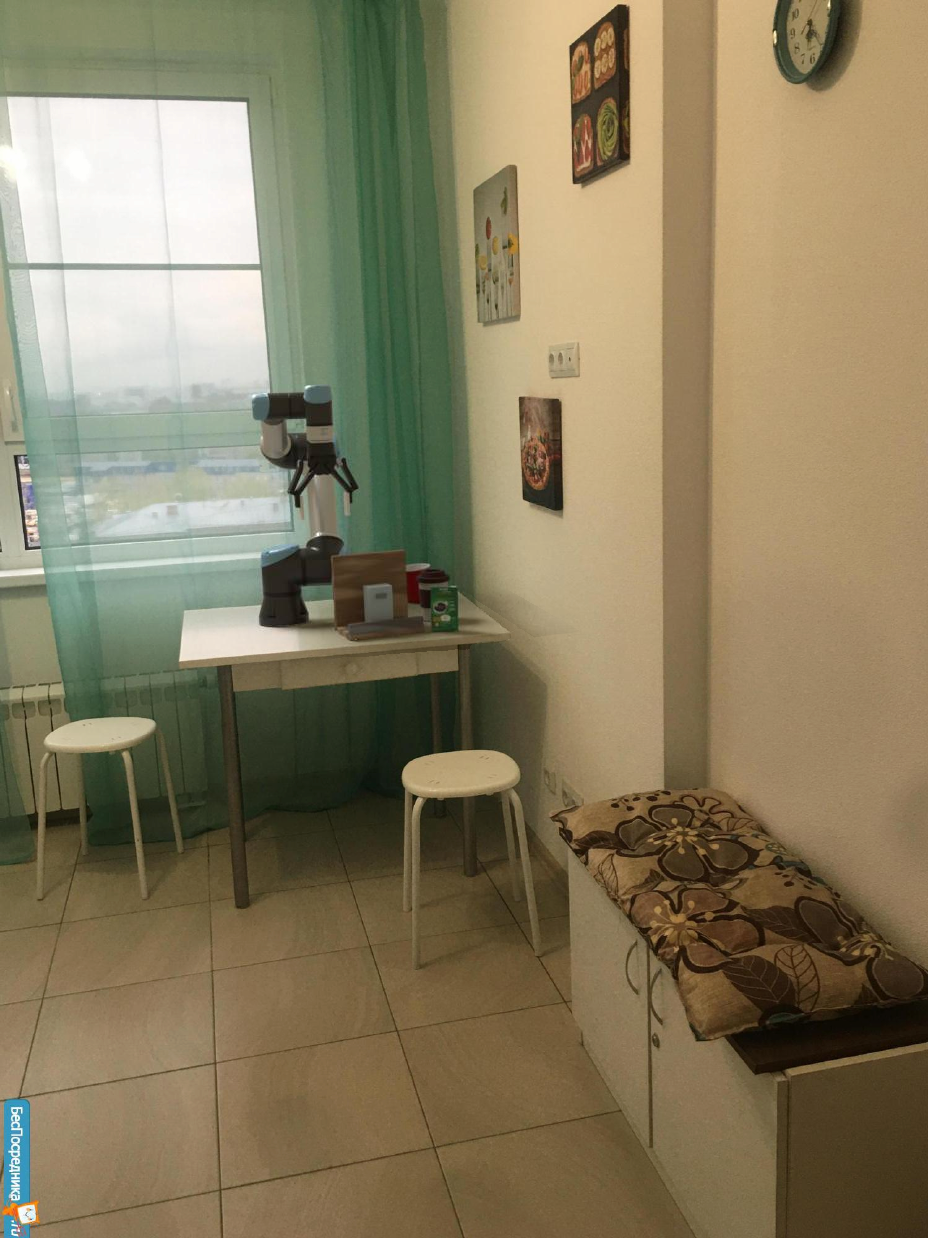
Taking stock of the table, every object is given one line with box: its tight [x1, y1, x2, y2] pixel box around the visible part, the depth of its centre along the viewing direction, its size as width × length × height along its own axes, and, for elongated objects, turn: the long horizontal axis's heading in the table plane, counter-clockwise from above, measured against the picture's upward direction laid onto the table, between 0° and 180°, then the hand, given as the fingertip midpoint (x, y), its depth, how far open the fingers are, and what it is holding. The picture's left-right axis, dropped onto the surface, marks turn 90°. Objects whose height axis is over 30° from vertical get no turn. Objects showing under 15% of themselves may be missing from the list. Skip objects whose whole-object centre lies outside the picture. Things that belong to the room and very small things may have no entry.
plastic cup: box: [406, 563, 431, 604], centre depth 357 cm, size 11×11×12 cm
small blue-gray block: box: [363, 583, 393, 622], centre depth 313 cm, size 6×7×12 cm
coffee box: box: [430, 585, 459, 632], centre depth 313 cm, size 8×3×13 cm, turn 88°
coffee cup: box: [417, 568, 451, 623], centre depth 328 cm, size 10×10×15 cm
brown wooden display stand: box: [331, 549, 425, 641], centre depth 313 cm, size 15×22×22 cm
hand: (324, 517), depth 309 cm, fingers open, 13 cm apart
